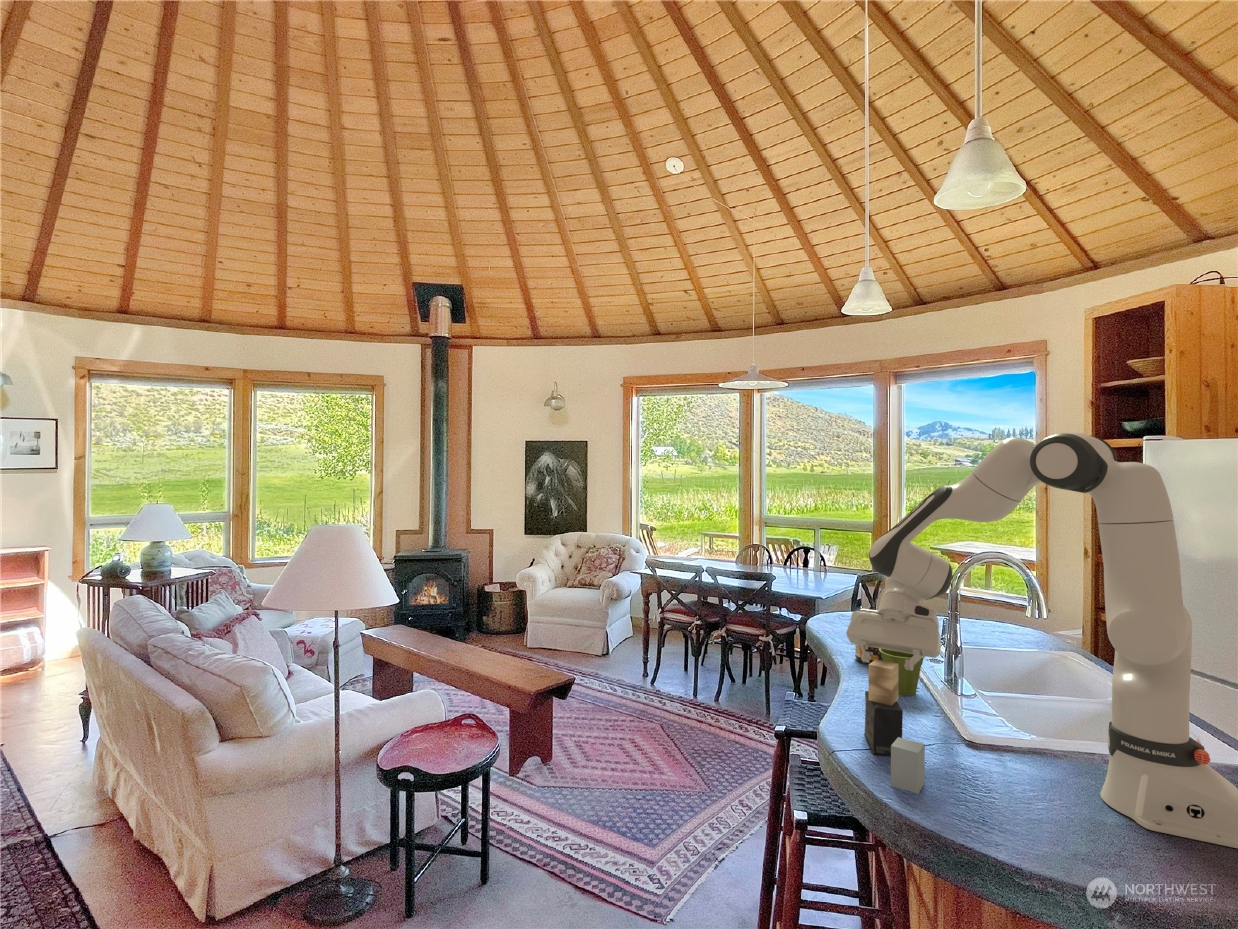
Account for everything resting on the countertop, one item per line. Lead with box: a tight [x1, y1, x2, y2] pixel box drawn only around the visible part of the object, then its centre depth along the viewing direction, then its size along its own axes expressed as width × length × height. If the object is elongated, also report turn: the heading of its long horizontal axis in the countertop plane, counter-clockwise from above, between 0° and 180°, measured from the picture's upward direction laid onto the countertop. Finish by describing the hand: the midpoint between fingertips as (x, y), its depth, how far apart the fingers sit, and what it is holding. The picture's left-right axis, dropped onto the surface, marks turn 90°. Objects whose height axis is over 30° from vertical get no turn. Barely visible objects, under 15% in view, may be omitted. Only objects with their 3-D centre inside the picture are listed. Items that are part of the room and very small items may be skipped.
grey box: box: [890, 737, 926, 795], centre depth 126 cm, size 5×5×8 cm
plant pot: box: [879, 648, 926, 697], centre depth 176 cm, size 12×12×11 cm
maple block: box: [868, 659, 899, 706], centre depth 143 cm, size 5×5×8 cm
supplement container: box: [854, 644, 883, 665], centre depth 204 cm, size 10×10×12 cm
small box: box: [864, 690, 904, 757], centre depth 143 cm, size 11×6×10 cm, turn 169°
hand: (886, 664), depth 144 cm, fingers open, 8 cm apart
